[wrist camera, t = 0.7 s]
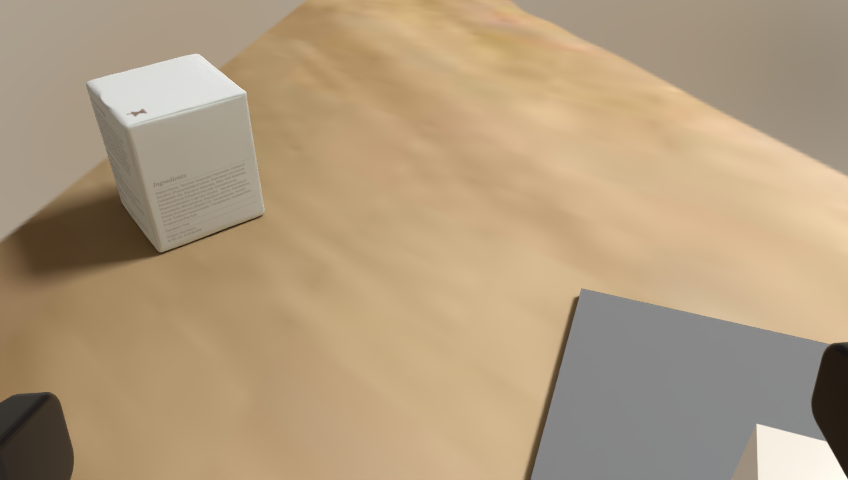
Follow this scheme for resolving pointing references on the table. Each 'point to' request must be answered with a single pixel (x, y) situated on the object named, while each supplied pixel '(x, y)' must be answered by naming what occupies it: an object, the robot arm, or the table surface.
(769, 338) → the mat
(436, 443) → the table surface
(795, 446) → the tile
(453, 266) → the table surface
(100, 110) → the product box
